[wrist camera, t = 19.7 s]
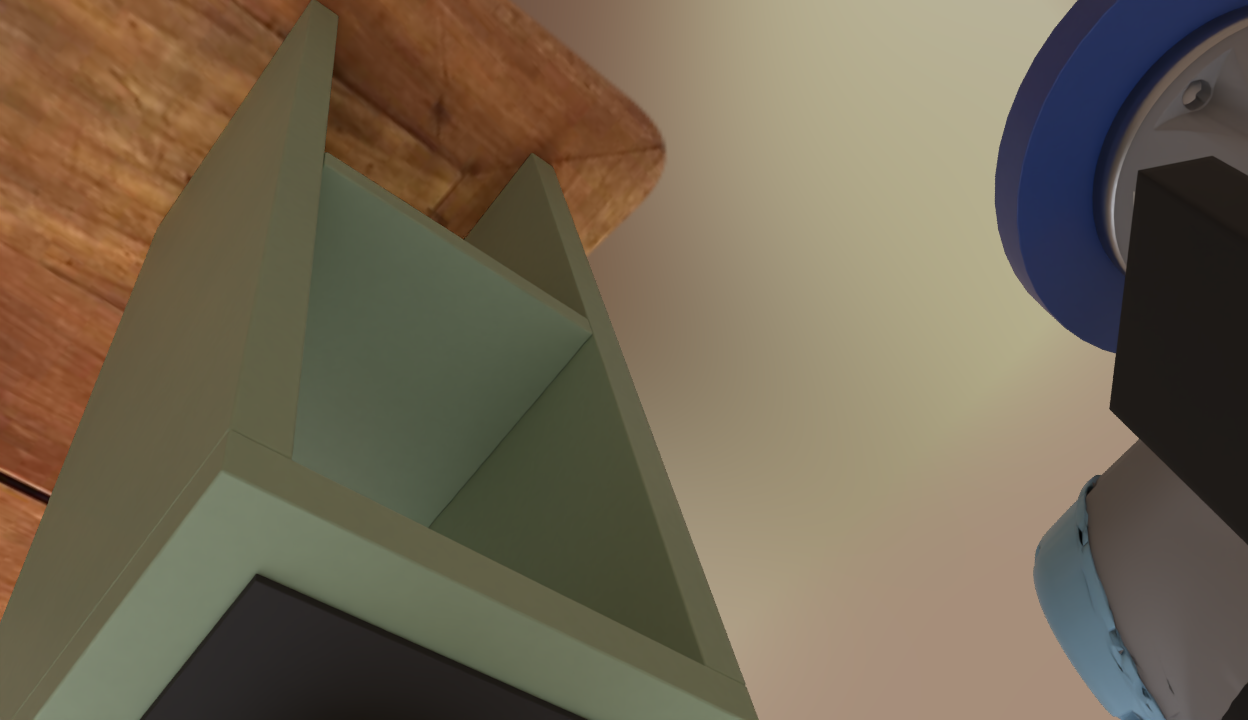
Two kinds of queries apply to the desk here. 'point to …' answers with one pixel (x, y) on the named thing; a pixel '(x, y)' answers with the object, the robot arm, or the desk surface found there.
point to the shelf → (361, 466)
